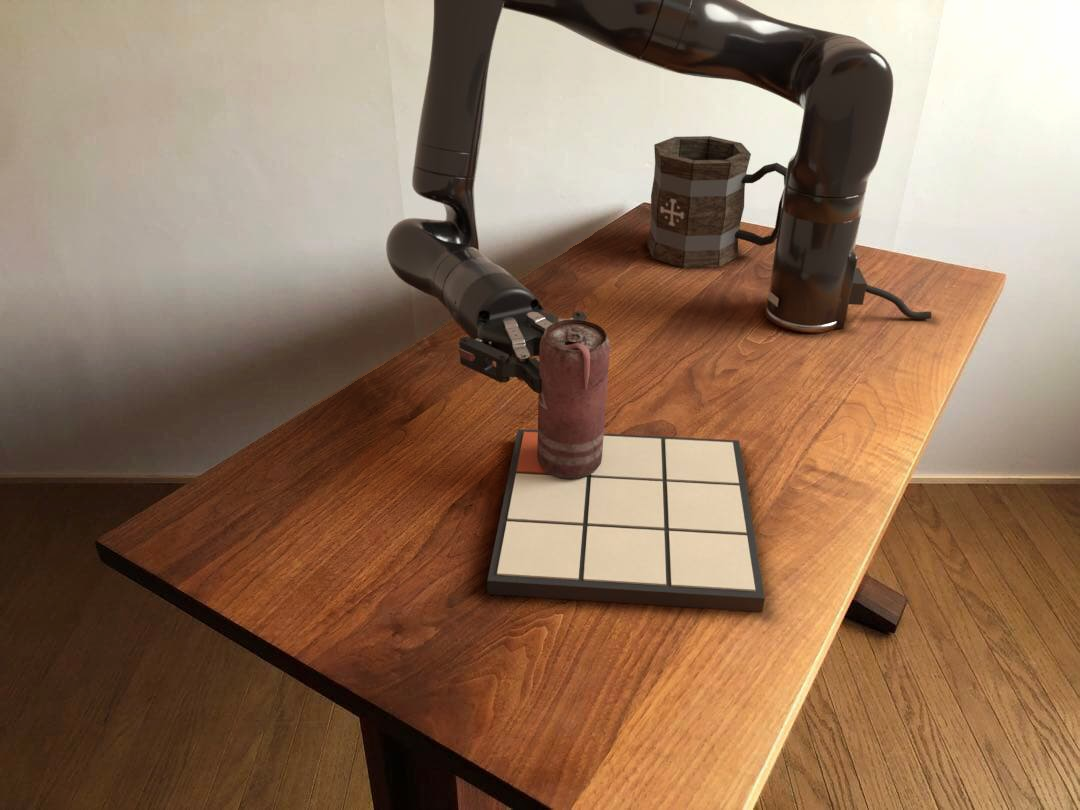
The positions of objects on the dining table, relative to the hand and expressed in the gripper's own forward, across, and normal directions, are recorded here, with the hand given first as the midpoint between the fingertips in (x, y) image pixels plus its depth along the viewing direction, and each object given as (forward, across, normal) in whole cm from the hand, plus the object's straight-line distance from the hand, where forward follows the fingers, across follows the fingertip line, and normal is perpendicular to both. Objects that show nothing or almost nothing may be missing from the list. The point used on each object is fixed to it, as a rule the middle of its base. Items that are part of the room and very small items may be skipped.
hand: (569, 381), depth 81 cm
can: (-1, 0, +10) cm, 10 cm away
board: (+7, +2, +11) cm, 13 cm away
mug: (-39, +45, +11) cm, 61 cm away
